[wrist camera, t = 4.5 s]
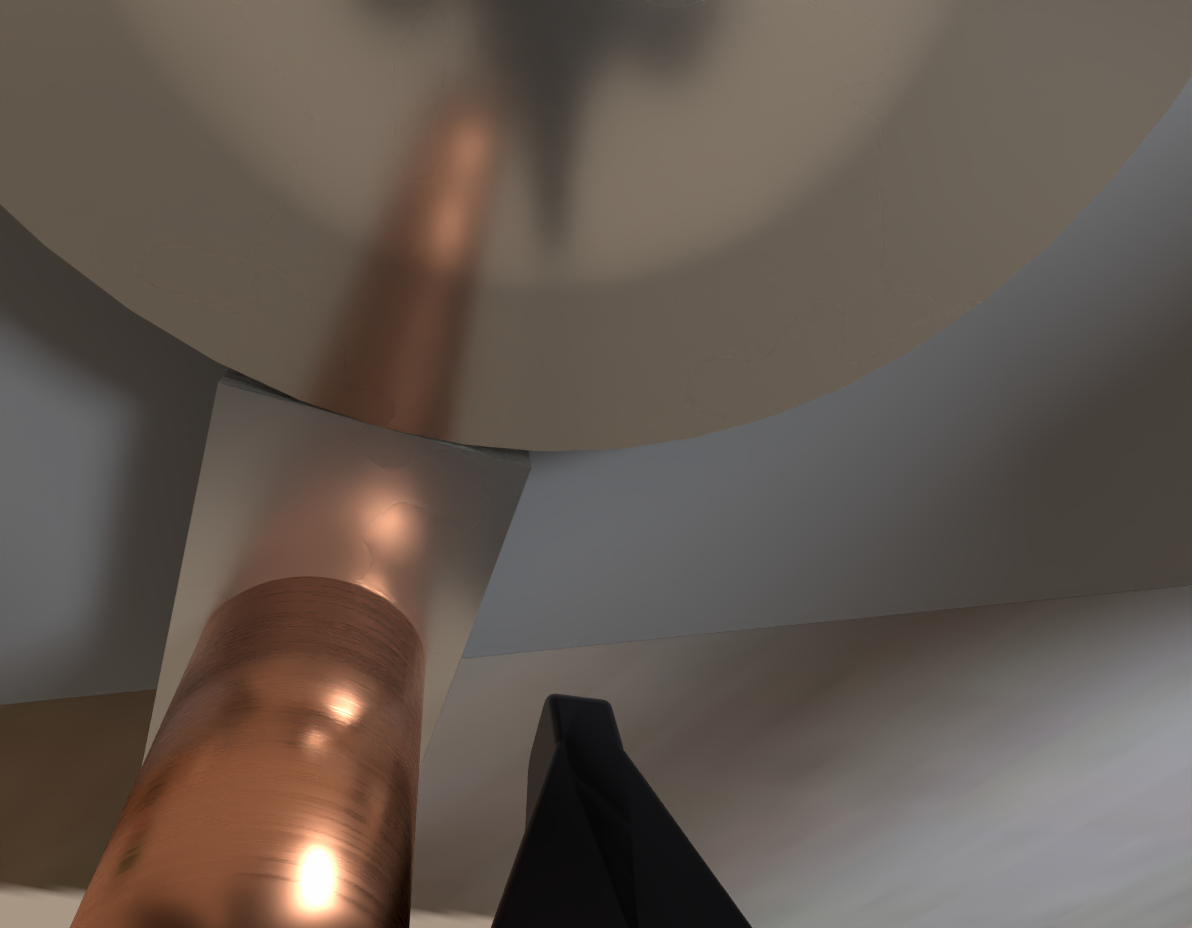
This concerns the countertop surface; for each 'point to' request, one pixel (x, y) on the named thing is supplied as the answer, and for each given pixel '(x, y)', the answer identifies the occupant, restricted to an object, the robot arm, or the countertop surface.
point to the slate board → (665, 467)
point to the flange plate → (496, 319)
